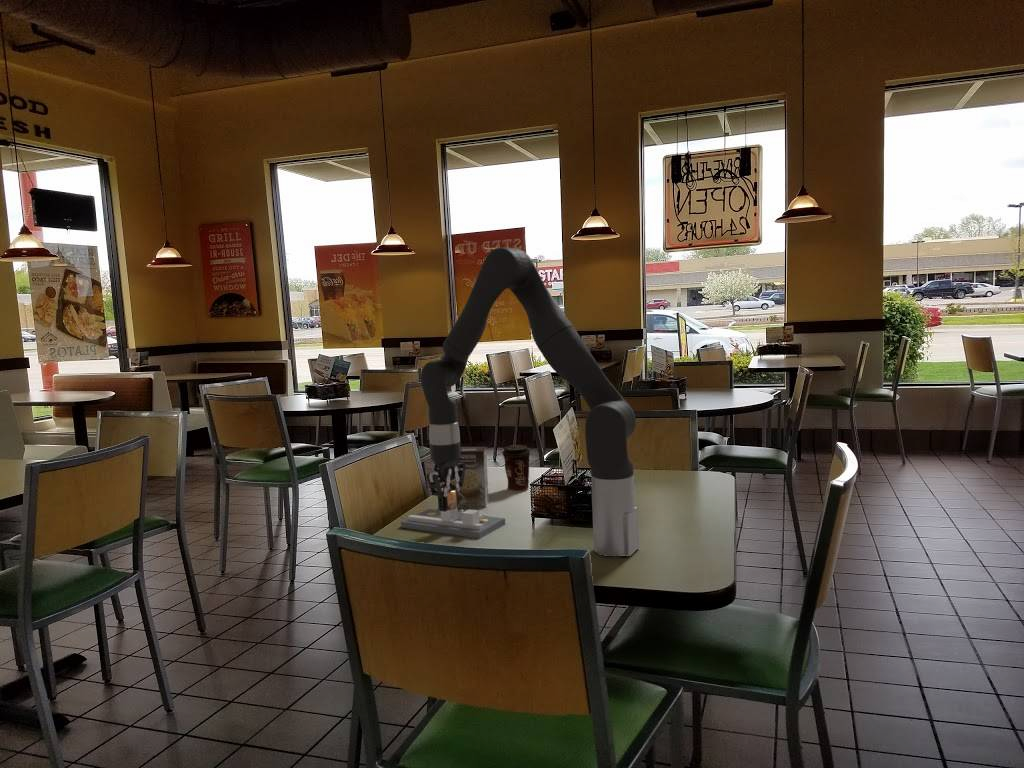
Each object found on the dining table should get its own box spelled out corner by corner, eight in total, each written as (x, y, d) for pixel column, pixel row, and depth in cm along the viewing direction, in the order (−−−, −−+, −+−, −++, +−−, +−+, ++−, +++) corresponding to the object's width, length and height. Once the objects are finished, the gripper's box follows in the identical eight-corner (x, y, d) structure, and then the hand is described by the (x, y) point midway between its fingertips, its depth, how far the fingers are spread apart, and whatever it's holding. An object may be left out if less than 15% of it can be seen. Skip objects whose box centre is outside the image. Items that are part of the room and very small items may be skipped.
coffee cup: (499, 488, 220) (497, 446, 219) (523, 484, 224) (521, 442, 222) (511, 494, 212) (509, 451, 211) (536, 490, 216) (534, 447, 214)
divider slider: (469, 515, 185) (467, 485, 184) (451, 524, 178) (449, 493, 178) (456, 513, 187) (454, 484, 186) (438, 522, 180) (436, 492, 180)
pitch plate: (505, 524, 184) (504, 503, 184) (479, 538, 174) (478, 516, 173) (429, 514, 196) (427, 494, 196) (401, 527, 186) (399, 506, 185)
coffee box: (453, 508, 201) (450, 451, 199) (457, 502, 207) (454, 446, 205) (486, 507, 200) (483, 450, 198) (489, 501, 206) (486, 445, 205)
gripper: (440, 447, 171) (444, 518, 173) (473, 436, 183) (477, 502, 185) (414, 445, 175) (419, 514, 177) (448, 434, 187) (452, 499, 189)
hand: (449, 508), depth 181 cm, fingers closed on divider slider, 4 cm apart
